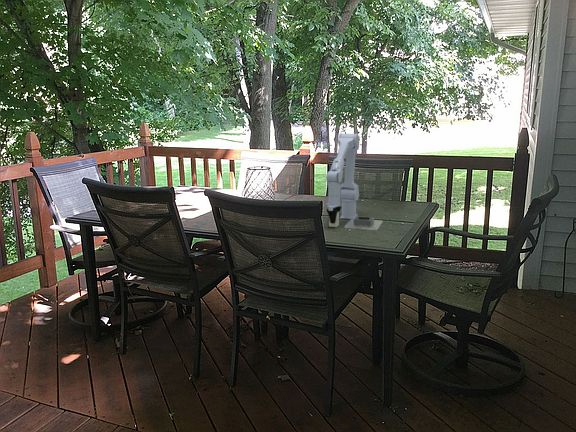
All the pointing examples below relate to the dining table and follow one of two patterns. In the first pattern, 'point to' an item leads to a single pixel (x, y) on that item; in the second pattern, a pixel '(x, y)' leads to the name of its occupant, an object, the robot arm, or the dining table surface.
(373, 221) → the socket
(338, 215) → the plug
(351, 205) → the robot arm
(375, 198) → the dining table surface
